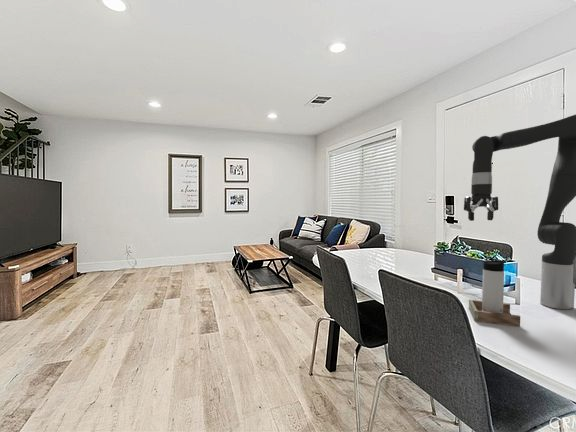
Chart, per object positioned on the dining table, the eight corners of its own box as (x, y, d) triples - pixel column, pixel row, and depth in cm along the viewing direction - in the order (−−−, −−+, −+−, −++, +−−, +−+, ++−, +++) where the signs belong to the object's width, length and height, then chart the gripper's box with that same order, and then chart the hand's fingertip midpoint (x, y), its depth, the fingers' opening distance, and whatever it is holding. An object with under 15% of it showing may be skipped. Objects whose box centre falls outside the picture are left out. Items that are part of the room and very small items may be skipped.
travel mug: (507, 319, 103) (509, 262, 102) (486, 317, 104) (487, 261, 103) (498, 312, 109) (500, 259, 108) (478, 311, 110) (480, 258, 110)
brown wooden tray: (509, 313, 110) (509, 303, 110) (520, 326, 98) (520, 316, 98) (468, 308, 115) (468, 299, 115) (474, 320, 103) (474, 311, 103)
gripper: (490, 183, 133) (489, 219, 134) (460, 184, 132) (459, 220, 133) (503, 182, 126) (502, 220, 127) (472, 183, 125) (471, 221, 126)
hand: (480, 220), depth 130 cm, fingers open, 8 cm apart
